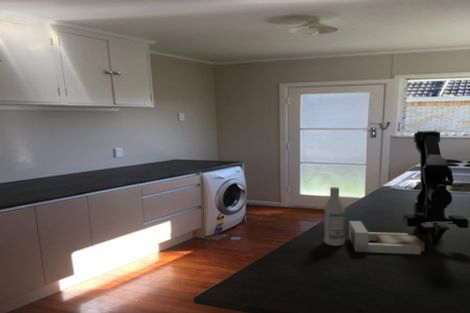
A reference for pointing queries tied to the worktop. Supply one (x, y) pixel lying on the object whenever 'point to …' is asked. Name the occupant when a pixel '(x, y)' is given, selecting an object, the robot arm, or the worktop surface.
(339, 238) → the bath foam
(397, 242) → the tan wooden block
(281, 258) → the worktop surface
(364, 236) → the canopy channel
